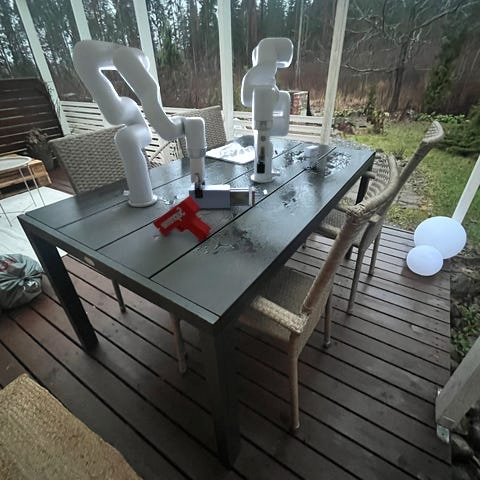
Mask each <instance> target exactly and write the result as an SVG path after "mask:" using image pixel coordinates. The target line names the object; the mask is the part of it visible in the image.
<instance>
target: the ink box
mask: <svg viewBox="0 0 480 480" xmlns="http://www.w3.org/2000/svg"><path fill="white" fill-rule="evenodd" d="M319 150H320V146H319V145H313V144H311V145H309V146H306V147H304V149H303V158H302V165H301V168H302V169H306V170H311V169H313V168H316V167H317V165H318V159H319ZM316 164H317V165H316ZM314 165H316V166H314ZM303 166H305V167H303ZM311 166H313V167H311ZM307 167H311V168H307Z"/></svg>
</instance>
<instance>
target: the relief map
mask: <svg viewBox="0 0 480 480" xmlns="http://www.w3.org/2000/svg"><path fill="white" fill-rule="evenodd" d="M206 153H207V156H206V158H211V159H216V160H221V161H225V162H230V163H235V164H240V165H246V164H248V163H250V162H254V146H252V145H248V146H246V147H244V146H241V145H240V143H238V142H237V141H235V142H234V141H231V143H229V144H226V145H224V146H221V147H218V148H215V149H214V148H212V149H211V150H209V151H206Z"/></svg>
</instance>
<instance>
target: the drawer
mask: <svg viewBox="0 0 480 480" xmlns="http://www.w3.org/2000/svg"><path fill="white" fill-rule="evenodd" d="M268 195H269V194H268V191H267V190H266V189H264V190H256V187H255V186H252V187H251V202H250V187H230V207H249V206H250V203H251V208H255V207H256V197H259V196H260V197H268Z"/></svg>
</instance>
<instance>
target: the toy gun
mask: <svg viewBox="0 0 480 480" xmlns="http://www.w3.org/2000/svg"><path fill="white" fill-rule="evenodd" d="M200 211H201V210H200V207H199V205H198V204H197V203H196V202H195V201H194V200H193V199H192V198H191V196H189V195H188V196H187V197H185V198H184V199H183V200H181V201H180V202H179V203H177V204H176V205H174V206H173V207H171V209H169V210H167V211H166V212H165V213H163V214H162V215H161V216H159V217H158V218H157V219H156V220H155V221H153V222H152V224H153V225H154V226H155V227H156V229H157V230H158V231H159V233H160V234H161V235H163V236H166V235H167V234H169V233H170V232H172V231H173V230H175V229H176V230H177V232H179V233H184V232H185V231H189V232H190V233H191V234H192V235H193V236H195V237H196V238H197V239H198V240H197V241H198V242H200V243H201V242H202V241H203V240H205V241H206V240H207V238H209V236H210V235H211V232H210V231H211V230H212V227H211V226H210V225H209V224H207V223H206V222H205V221H203V220H202V219H201V218H200V217H199V216H198V215H197V214H198V213H199V212H200Z"/></svg>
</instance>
